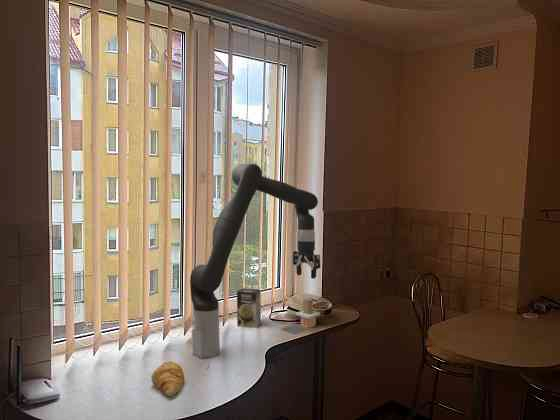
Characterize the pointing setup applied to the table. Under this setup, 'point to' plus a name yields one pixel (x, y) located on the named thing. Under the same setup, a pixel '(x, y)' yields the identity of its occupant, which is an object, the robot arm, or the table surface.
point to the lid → (308, 309)
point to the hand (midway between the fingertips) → (306, 276)
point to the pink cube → (308, 322)
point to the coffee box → (248, 308)
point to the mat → (294, 329)
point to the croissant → (168, 378)
